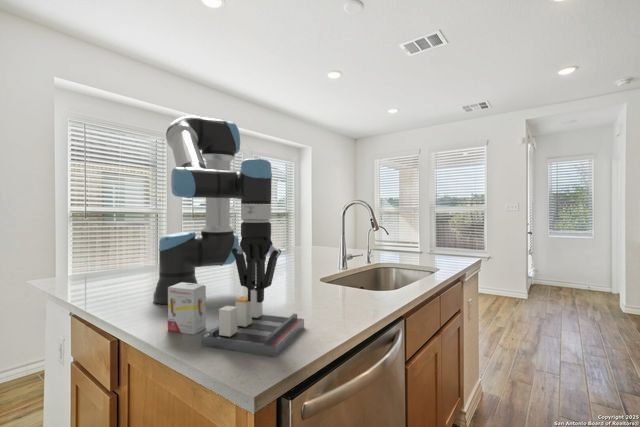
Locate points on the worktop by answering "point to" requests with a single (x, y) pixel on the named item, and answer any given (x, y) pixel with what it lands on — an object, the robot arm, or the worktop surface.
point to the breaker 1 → (227, 321)
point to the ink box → (187, 308)
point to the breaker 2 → (243, 311)
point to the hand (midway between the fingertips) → (255, 314)
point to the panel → (258, 335)
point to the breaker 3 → (259, 314)
